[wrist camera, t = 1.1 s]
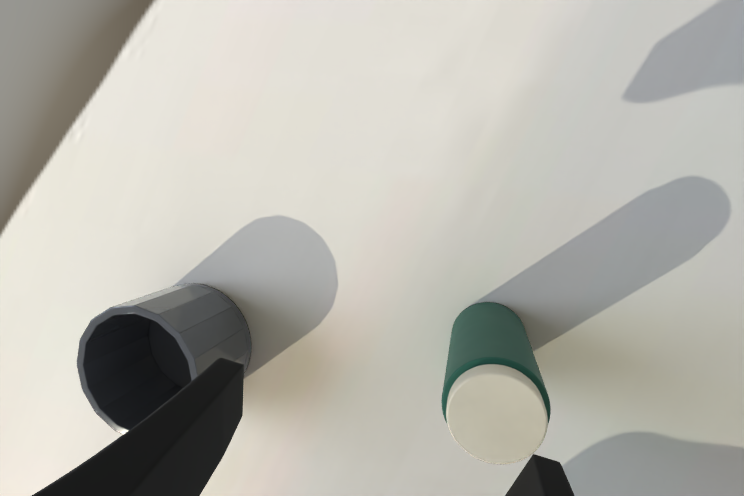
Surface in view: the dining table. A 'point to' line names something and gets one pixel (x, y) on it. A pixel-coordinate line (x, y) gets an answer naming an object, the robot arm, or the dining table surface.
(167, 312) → the cup
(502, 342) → the cylinder
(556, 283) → the dining table surface
